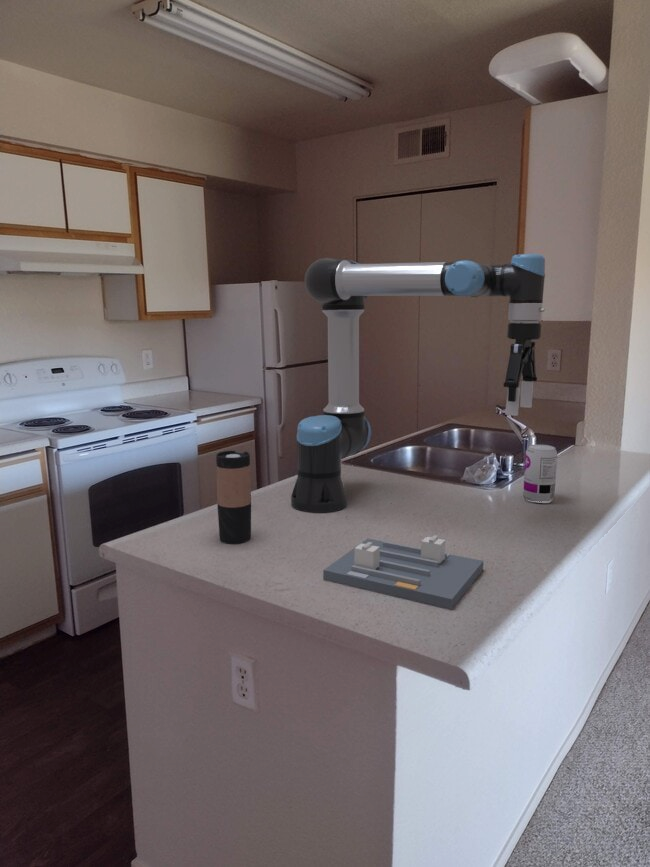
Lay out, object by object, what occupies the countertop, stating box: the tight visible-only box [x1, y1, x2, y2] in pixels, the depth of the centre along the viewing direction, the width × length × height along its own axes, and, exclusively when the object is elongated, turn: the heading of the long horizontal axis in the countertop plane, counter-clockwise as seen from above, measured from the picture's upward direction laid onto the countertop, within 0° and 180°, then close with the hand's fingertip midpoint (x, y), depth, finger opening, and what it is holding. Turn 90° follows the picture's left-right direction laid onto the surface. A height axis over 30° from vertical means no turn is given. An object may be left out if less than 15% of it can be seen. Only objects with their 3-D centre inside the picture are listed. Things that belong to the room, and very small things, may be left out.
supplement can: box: [522, 444, 558, 502], centre depth 177 cm, size 8×8×15 cm
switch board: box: [322, 538, 484, 610], centre depth 129 cm, size 26×20×3 cm
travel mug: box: [215, 450, 252, 545], centre depth 147 cm, size 8×8×20 cm
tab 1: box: [354, 542, 380, 570], centre depth 127 cm, size 4×3×5 cm
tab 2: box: [420, 534, 446, 564], centre depth 130 cm, size 4×3×5 cm
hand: (519, 411), depth 157 cm, fingers open, 13 cm apart
